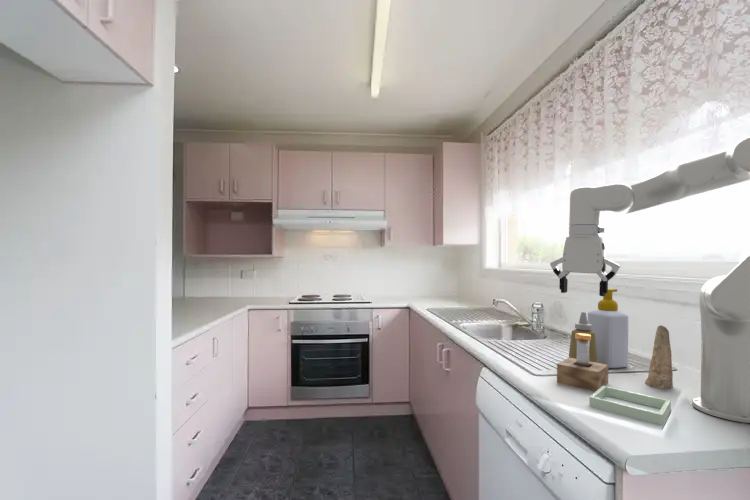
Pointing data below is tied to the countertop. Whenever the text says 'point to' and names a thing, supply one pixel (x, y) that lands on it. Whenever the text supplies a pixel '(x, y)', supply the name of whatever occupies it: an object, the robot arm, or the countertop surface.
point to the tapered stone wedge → (661, 361)
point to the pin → (583, 349)
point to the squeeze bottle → (584, 328)
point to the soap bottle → (610, 332)
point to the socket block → (582, 374)
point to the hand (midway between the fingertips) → (582, 294)
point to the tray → (631, 411)
